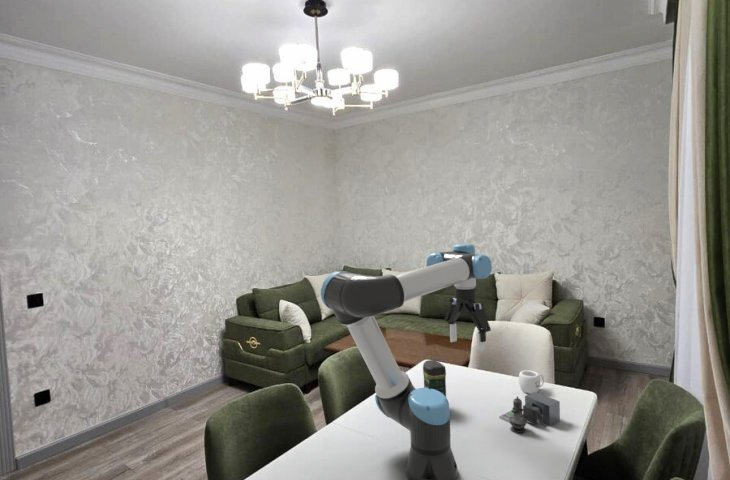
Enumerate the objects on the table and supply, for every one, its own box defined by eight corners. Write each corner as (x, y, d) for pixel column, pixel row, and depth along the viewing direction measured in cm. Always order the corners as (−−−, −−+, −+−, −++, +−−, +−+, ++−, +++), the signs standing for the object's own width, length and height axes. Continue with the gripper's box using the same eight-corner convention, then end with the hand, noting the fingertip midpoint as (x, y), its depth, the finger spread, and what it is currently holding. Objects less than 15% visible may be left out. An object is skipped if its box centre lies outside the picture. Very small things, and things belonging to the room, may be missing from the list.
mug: (529, 397, 166) (528, 378, 166) (514, 389, 174) (514, 371, 174) (551, 391, 171) (551, 373, 170) (536, 384, 179) (536, 366, 178)
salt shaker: (508, 432, 140) (507, 398, 140) (510, 424, 146) (509, 391, 145) (526, 435, 138) (525, 401, 137) (528, 427, 143) (527, 394, 142)
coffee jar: (450, 412, 156) (448, 365, 155) (431, 415, 154) (429, 367, 153) (439, 401, 166) (438, 357, 165) (421, 404, 164) (420, 359, 163)
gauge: (533, 434, 138) (533, 413, 138) (499, 417, 151) (498, 398, 150) (559, 421, 146) (559, 401, 146) (525, 406, 158) (524, 387, 158)
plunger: (535, 424, 143) (535, 410, 142) (510, 413, 152) (510, 400, 151) (551, 417, 147) (551, 403, 147) (526, 406, 156) (526, 393, 156)
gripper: (500, 290, 136) (502, 352, 137) (448, 282, 157) (450, 336, 158) (484, 293, 132) (486, 357, 133) (434, 284, 154) (435, 339, 155)
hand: (466, 345), depth 146 cm, fingers open, 13 cm apart
